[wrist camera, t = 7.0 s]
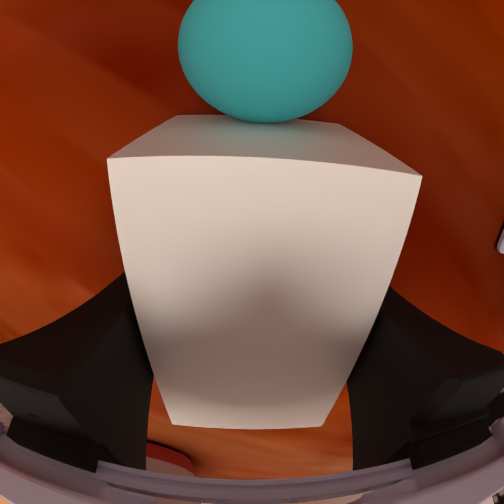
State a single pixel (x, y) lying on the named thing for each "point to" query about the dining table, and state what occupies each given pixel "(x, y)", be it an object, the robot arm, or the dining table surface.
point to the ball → (265, 55)
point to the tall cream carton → (257, 261)
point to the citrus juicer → (167, 467)
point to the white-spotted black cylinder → (497, 409)
